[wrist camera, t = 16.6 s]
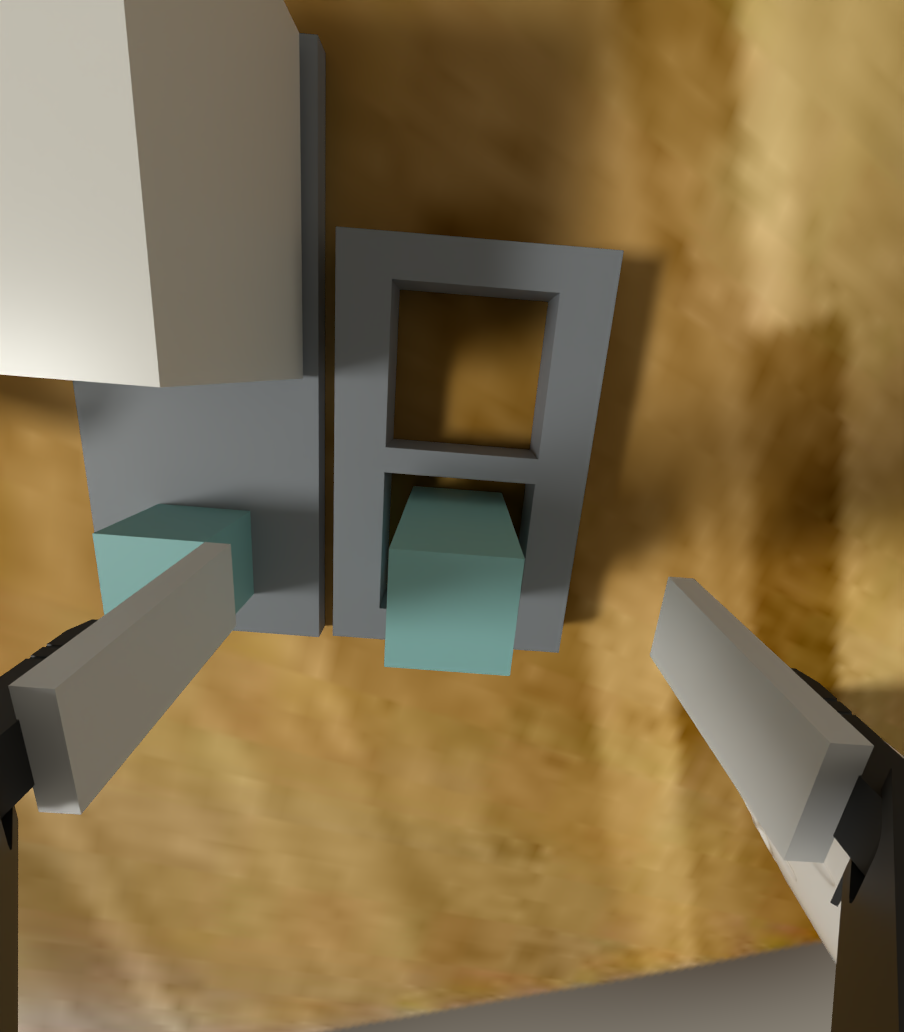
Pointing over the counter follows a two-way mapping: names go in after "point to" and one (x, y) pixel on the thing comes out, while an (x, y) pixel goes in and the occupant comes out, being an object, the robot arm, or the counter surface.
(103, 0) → the cover
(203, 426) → the board
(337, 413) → the socket board
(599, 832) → the counter surface
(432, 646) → the peg
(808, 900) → the white cup
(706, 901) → the counter surface
